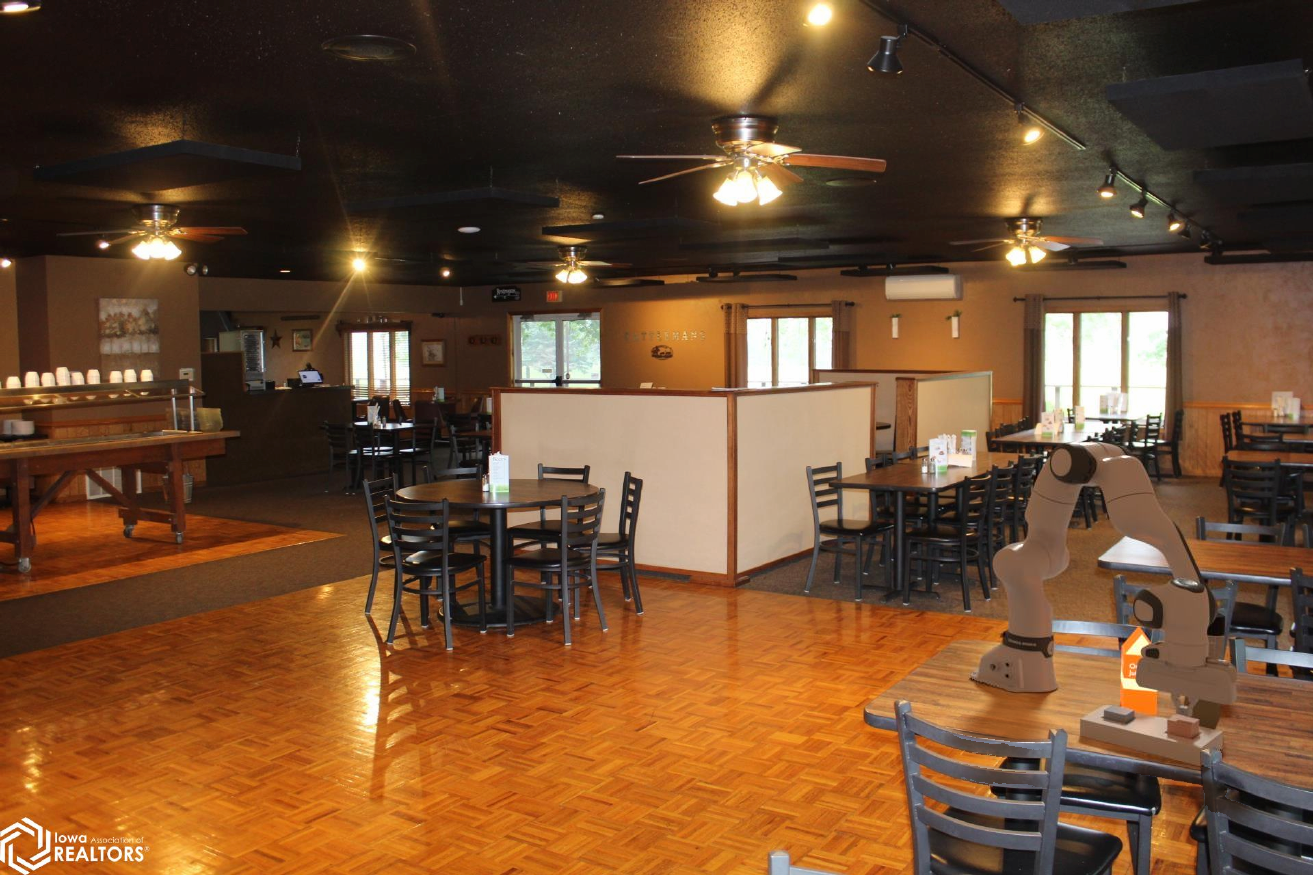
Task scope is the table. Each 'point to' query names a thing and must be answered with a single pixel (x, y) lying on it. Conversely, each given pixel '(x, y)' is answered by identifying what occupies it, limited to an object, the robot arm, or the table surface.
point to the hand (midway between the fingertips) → (1184, 714)
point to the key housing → (1149, 736)
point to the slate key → (1119, 714)
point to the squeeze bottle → (1205, 713)
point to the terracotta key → (1183, 726)
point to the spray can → (1216, 638)
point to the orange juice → (1130, 691)
